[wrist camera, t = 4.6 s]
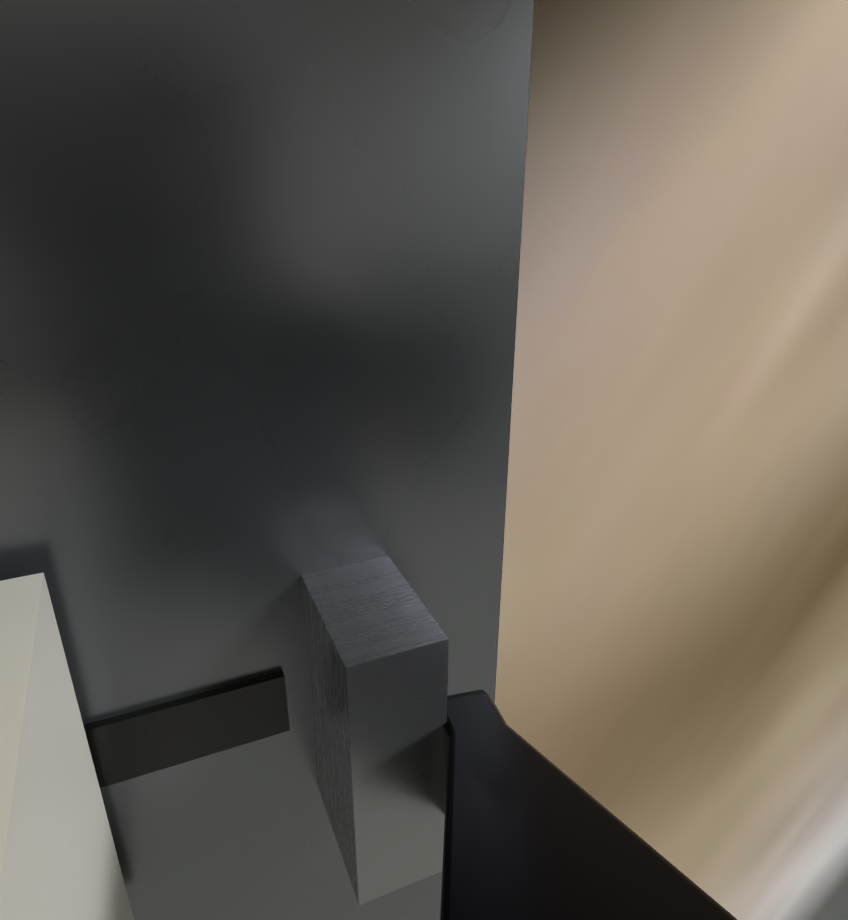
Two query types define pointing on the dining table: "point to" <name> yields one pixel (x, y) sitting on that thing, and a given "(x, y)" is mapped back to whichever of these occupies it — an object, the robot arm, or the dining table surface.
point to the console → (264, 420)
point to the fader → (48, 776)
